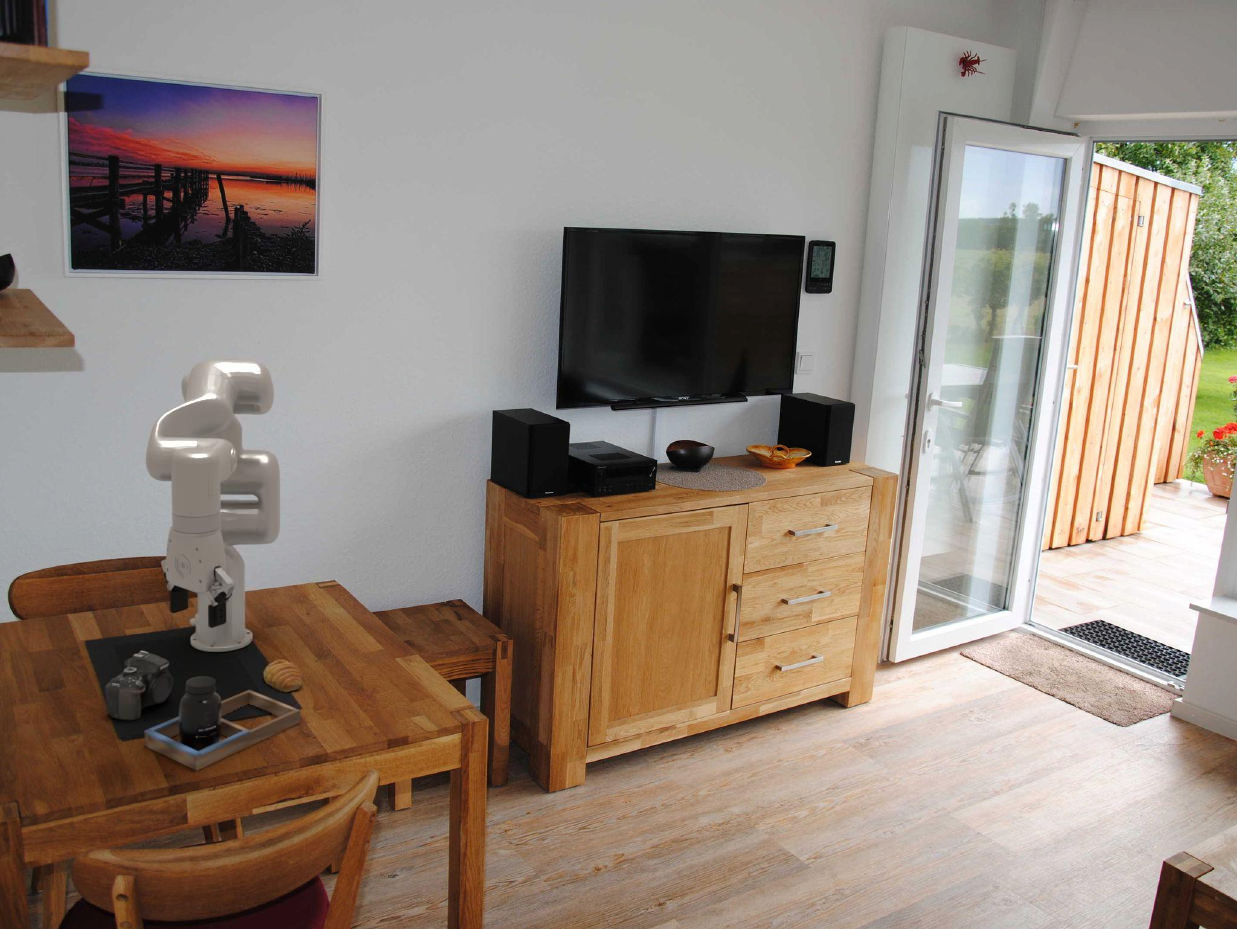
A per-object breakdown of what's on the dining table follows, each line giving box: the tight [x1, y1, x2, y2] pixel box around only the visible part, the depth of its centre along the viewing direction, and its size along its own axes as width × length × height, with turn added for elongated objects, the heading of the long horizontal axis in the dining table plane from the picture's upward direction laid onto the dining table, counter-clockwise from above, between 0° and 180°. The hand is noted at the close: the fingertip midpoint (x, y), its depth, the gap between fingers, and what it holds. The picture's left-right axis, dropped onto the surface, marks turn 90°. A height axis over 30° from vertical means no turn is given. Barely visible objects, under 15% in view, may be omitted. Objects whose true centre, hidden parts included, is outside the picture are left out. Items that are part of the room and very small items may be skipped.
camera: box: [104, 650, 174, 721], centre depth 194 cm, size 13×10×10 cm
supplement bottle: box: [178, 675, 222, 751], centre depth 181 cm, size 7×7×12 cm
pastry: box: [262, 659, 303, 693], centre depth 208 cm, size 9×7×4 cm
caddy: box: [143, 689, 301, 771], centre depth 186 cm, size 14×22×3 cm, turn 150°
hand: (198, 618), depth 177 cm, fingers open, 9 cm apart
